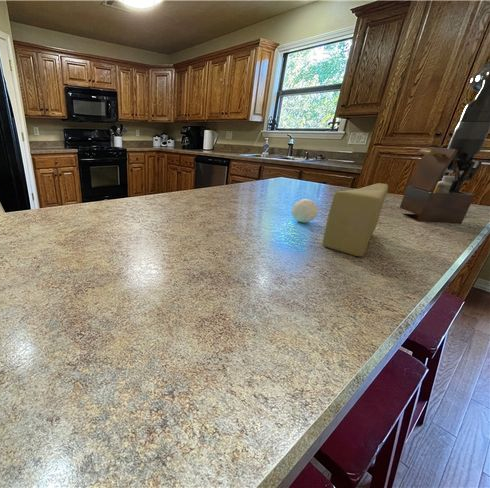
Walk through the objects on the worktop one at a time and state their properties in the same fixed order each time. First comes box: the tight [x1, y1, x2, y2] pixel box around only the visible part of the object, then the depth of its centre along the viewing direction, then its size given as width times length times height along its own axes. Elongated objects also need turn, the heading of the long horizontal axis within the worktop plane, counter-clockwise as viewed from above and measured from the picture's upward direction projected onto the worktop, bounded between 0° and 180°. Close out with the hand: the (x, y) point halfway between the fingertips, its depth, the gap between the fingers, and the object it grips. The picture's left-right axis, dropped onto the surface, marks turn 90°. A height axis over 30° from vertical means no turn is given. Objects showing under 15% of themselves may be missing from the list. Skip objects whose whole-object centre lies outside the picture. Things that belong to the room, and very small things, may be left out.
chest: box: [399, 185, 476, 225], centre depth 93 cm, size 13×12×10 cm
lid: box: [406, 146, 458, 192], centre depth 90 cm, size 13×12×5 cm
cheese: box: [322, 182, 389, 257], centre depth 71 cm, size 22×10×15 cm, turn 128°
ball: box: [291, 198, 319, 224], centre depth 88 cm, size 8×8×8 cm
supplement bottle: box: [433, 175, 457, 194], centre depth 91 cm, size 6×6×10 cm
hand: (445, 190), depth 91 cm, fingers closed on supplement bottle, 5 cm apart
